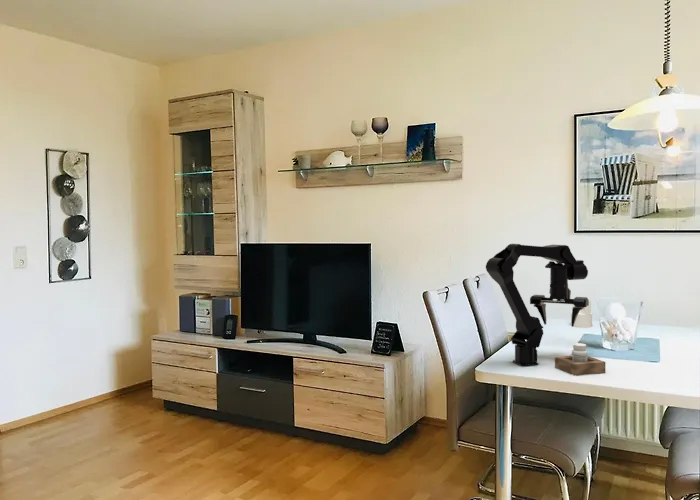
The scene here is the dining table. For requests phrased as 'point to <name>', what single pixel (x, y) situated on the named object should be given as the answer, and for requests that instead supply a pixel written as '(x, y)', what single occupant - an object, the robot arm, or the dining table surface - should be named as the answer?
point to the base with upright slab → (583, 317)
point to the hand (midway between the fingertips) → (558, 325)
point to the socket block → (580, 365)
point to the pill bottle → (579, 353)
